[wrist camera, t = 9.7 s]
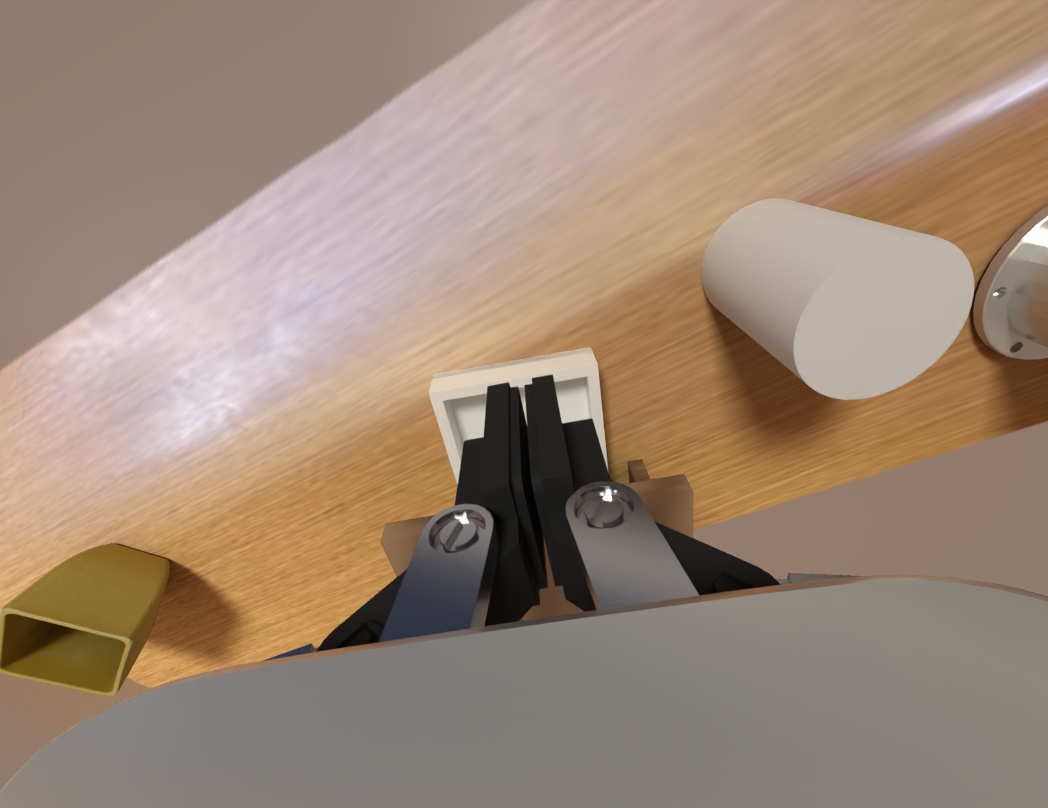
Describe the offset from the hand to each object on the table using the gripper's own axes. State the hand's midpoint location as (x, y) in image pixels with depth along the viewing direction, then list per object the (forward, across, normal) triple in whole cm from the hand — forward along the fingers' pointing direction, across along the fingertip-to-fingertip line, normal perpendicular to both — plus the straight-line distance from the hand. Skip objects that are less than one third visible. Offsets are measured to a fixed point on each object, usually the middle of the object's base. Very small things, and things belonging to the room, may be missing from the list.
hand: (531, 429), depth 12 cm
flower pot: (+22, +41, +22) cm, 51 cm away
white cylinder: (+23, -16, +4) cm, 28 cm away
